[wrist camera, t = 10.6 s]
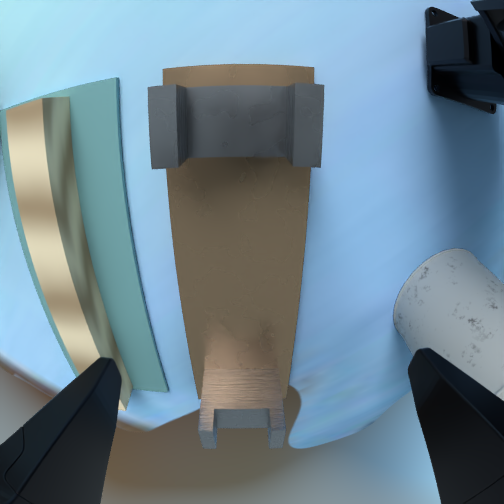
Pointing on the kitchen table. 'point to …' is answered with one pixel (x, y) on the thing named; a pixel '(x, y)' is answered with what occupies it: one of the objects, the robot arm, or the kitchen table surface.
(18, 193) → the rail
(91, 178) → the mat
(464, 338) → the grey stone cylinder
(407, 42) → the kitchen table surface
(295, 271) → the bracketed wooden plank
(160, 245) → the kitchen table surface
